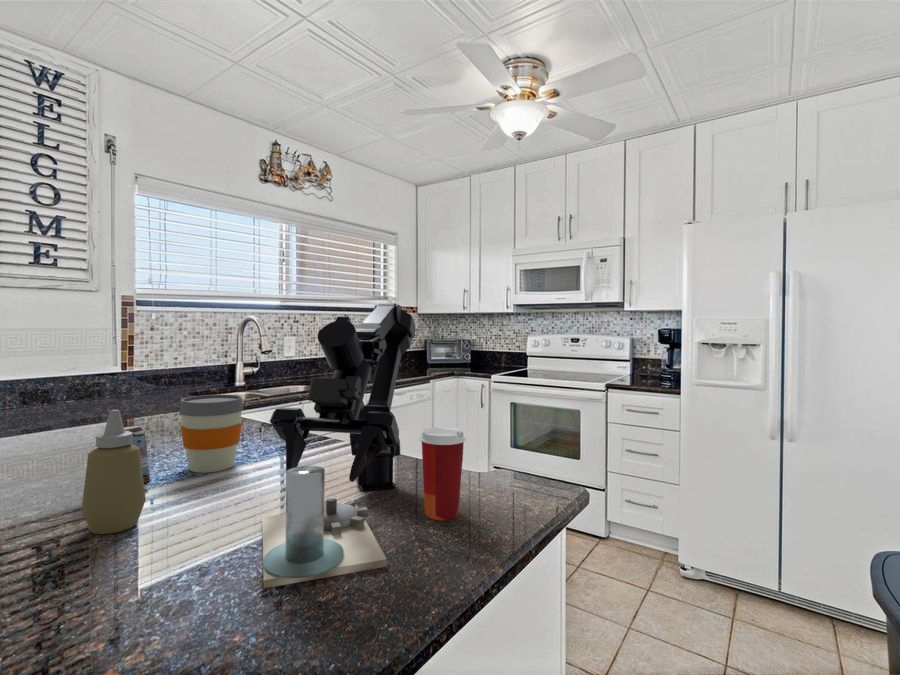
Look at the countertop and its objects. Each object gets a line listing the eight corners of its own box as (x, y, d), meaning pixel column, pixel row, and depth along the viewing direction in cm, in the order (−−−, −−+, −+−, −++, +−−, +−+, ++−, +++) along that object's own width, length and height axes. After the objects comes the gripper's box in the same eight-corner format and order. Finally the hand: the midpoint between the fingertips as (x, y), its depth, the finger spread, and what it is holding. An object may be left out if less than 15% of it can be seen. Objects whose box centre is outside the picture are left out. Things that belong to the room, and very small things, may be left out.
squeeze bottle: (103, 517, 77) (103, 405, 76) (156, 516, 77) (156, 405, 77) (67, 539, 69) (67, 415, 68) (126, 538, 69) (126, 415, 69)
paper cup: (469, 509, 83) (471, 428, 82) (456, 526, 75) (457, 438, 75) (428, 502, 85) (429, 425, 85) (410, 519, 78) (411, 433, 78)
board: (359, 509, 82) (360, 484, 82) (393, 569, 62) (393, 537, 62) (262, 521, 76) (262, 495, 76) (263, 592, 56) (264, 557, 56)
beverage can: (130, 498, 85) (130, 431, 85) (96, 494, 87) (96, 429, 86) (158, 486, 91) (159, 424, 91) (126, 483, 93) (126, 422, 92)
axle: (314, 542, 66) (315, 463, 65) (329, 556, 62) (331, 472, 62) (279, 553, 63) (280, 469, 62) (293, 567, 59) (294, 479, 59)
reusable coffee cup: (254, 464, 107) (255, 397, 106) (200, 479, 96) (200, 405, 96) (222, 455, 114) (222, 392, 113) (167, 468, 103) (167, 399, 103)
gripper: (276, 355, 73) (233, 445, 62) (395, 358, 70) (372, 453, 60) (299, 398, 81) (265, 484, 70) (406, 402, 78) (388, 492, 68)
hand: (319, 478), depth 67 cm, fingers open, 9 cm apart
